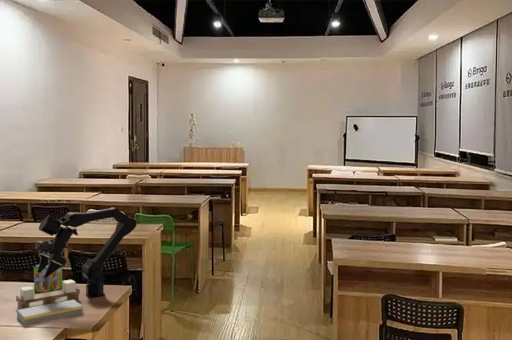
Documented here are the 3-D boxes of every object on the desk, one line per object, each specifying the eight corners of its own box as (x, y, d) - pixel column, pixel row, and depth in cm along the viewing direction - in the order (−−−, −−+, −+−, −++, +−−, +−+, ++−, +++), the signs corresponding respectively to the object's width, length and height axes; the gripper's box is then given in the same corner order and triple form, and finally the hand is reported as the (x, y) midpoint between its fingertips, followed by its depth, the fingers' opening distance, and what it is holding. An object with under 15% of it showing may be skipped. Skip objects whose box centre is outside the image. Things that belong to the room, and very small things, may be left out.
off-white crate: (71, 288, 237) (71, 279, 237) (75, 291, 233) (75, 282, 233) (62, 290, 235) (62, 281, 234) (66, 293, 231) (66, 283, 230)
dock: (73, 306, 225) (73, 299, 225) (83, 313, 217) (82, 306, 217) (17, 317, 212) (16, 310, 212) (24, 325, 204) (24, 317, 204)
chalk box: (52, 293, 243) (51, 260, 242) (33, 292, 245) (32, 259, 244) (63, 287, 252) (62, 255, 251) (45, 286, 254) (44, 254, 253)
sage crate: (30, 295, 227) (30, 286, 226) (34, 298, 223) (33, 289, 223) (20, 297, 224) (20, 287, 224) (23, 300, 220) (23, 290, 220)
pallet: (74, 296, 239) (74, 285, 238) (79, 300, 234) (79, 289, 234) (16, 307, 224) (16, 295, 224) (20, 311, 219) (20, 299, 219)
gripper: (37, 229, 233) (17, 262, 229) (51, 235, 219) (30, 272, 215) (60, 239, 240) (41, 272, 236) (75, 247, 225) (55, 282, 221)
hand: (41, 274), depth 227 cm, fingers open, 9 cm apart
